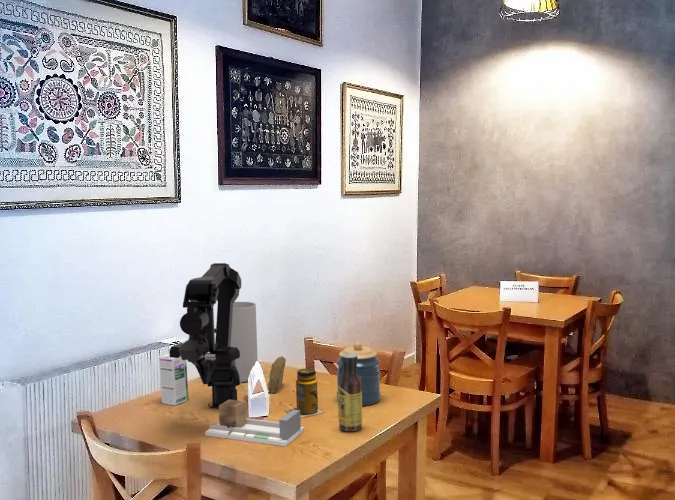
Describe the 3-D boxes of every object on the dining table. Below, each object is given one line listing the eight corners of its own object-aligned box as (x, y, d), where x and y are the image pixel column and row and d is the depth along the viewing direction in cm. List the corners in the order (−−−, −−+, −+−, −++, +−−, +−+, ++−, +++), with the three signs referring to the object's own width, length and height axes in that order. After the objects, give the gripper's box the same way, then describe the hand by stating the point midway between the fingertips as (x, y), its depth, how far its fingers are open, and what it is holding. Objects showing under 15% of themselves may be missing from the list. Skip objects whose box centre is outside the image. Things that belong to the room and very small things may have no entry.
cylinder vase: (242, 385, 214) (240, 309, 212) (212, 380, 220) (210, 306, 218) (265, 375, 225) (263, 303, 223) (236, 371, 231) (233, 300, 229)
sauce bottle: (337, 424, 177) (336, 352, 175) (360, 423, 177) (359, 351, 176) (339, 433, 170) (338, 358, 169) (363, 432, 171) (362, 357, 169)
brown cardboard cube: (213, 431, 170) (212, 409, 169) (229, 421, 178) (228, 399, 177) (230, 434, 168) (229, 411, 168) (246, 423, 176) (245, 401, 175)
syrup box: (175, 406, 195) (173, 358, 194) (160, 403, 198) (158, 355, 197) (188, 400, 200) (186, 353, 199) (174, 397, 203) (172, 351, 202)
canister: (382, 394, 203) (382, 337, 201) (377, 407, 190) (377, 347, 188) (341, 392, 205) (339, 336, 203) (333, 406, 192) (332, 346, 191)
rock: (280, 388, 202) (298, 376, 211) (264, 365, 204) (283, 354, 212) (260, 404, 208) (279, 391, 217) (245, 381, 210) (264, 369, 218)
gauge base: (205, 435, 171) (204, 412, 171) (227, 421, 181) (226, 399, 181) (285, 446, 163) (284, 422, 162) (303, 430, 173) (303, 408, 172)
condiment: (323, 412, 187) (322, 371, 186) (297, 419, 182) (296, 376, 181) (310, 405, 193) (309, 365, 192) (285, 411, 188) (283, 370, 187)
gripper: (155, 330, 171) (157, 389, 172) (217, 335, 164) (219, 396, 166) (180, 322, 181) (182, 377, 183) (239, 326, 174) (242, 383, 176)
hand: (205, 384), depth 176 cm, fingers closed
